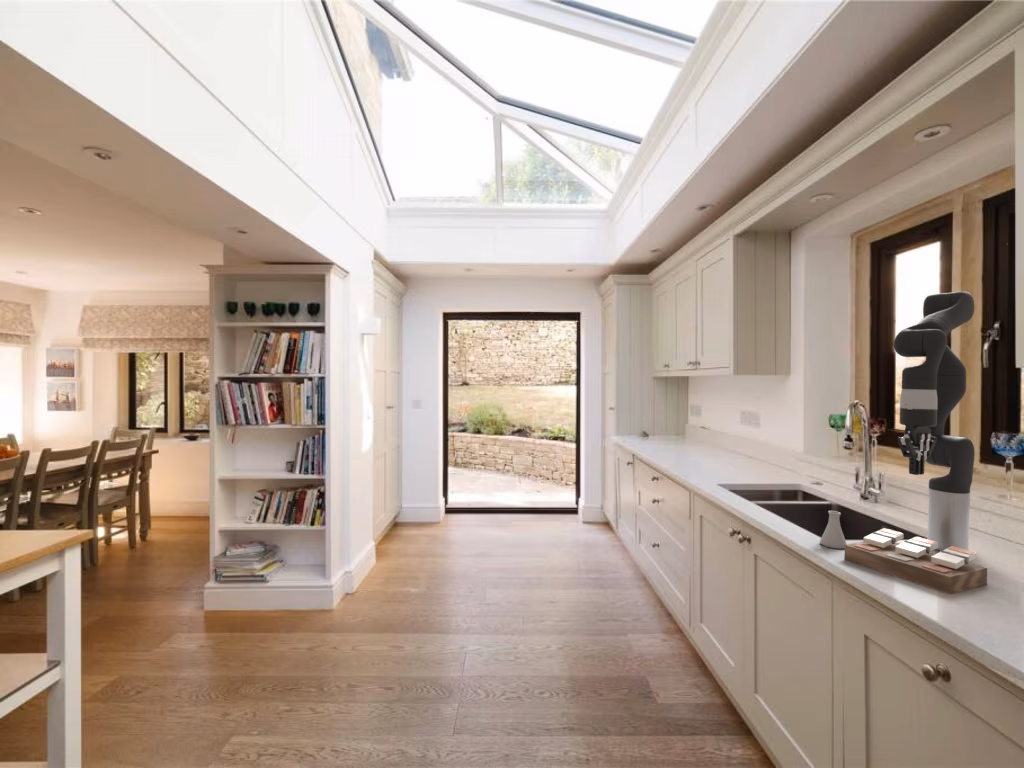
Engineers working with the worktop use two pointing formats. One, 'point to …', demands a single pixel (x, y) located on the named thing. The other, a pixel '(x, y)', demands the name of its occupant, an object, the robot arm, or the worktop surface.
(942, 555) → the rocker
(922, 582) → the switch unit
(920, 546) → the rocker
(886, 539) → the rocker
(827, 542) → the flask
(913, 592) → the worktop surface
